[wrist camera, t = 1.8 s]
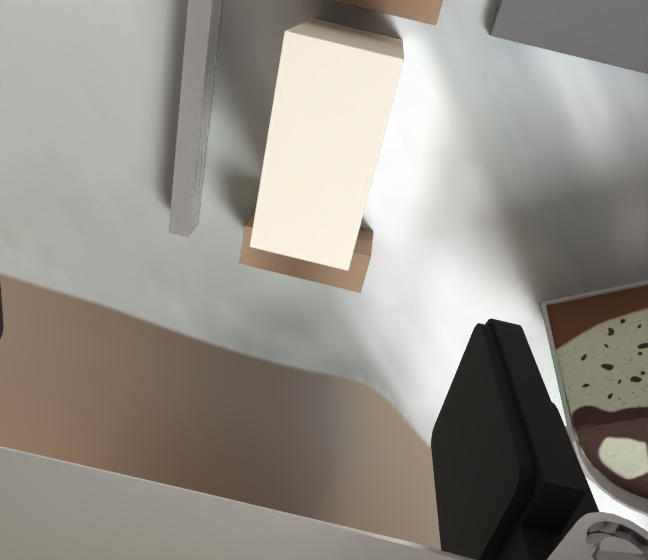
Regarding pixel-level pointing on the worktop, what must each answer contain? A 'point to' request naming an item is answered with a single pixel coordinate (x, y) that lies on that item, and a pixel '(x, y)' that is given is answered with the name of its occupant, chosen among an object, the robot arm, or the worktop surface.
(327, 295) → the worktop surface
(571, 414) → the food container
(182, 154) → the blocks
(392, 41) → the cream cuboid
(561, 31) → the mat
